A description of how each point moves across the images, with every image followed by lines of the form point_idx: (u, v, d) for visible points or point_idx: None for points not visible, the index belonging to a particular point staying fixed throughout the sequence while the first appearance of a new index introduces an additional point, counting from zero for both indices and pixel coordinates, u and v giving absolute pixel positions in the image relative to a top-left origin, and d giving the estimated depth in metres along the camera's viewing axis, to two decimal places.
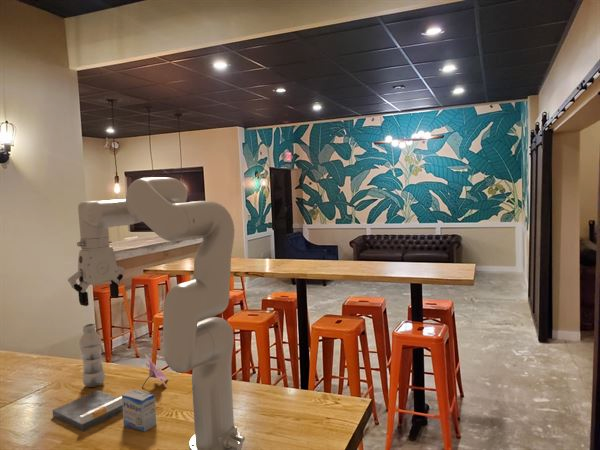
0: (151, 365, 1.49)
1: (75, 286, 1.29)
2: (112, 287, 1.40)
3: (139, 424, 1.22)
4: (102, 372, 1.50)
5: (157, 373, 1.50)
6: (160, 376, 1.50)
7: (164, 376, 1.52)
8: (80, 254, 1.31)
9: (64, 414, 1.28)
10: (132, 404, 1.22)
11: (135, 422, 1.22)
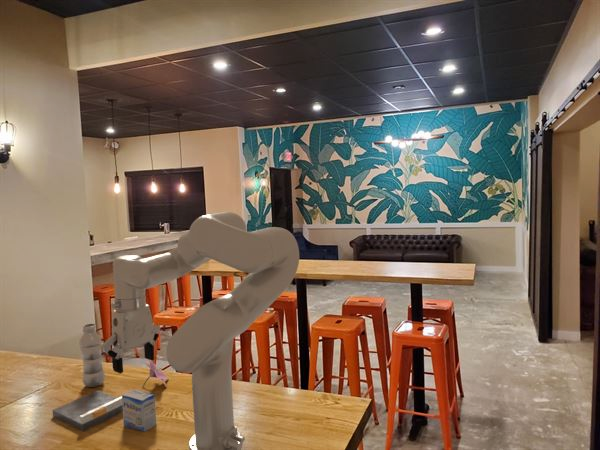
0: (151, 365, 1.50)
1: (109, 353, 1.16)
2: (147, 348, 1.27)
3: (139, 424, 1.22)
4: (102, 372, 1.50)
5: (157, 373, 1.50)
6: (160, 376, 1.50)
7: (164, 376, 1.52)
8: (115, 316, 1.18)
9: (64, 414, 1.28)
10: (132, 404, 1.22)
11: (135, 422, 1.22)
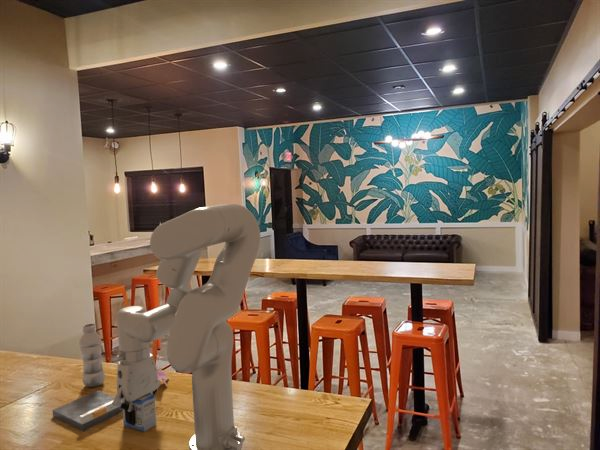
0: None
1: (122, 406, 1.19)
2: None
3: (139, 424, 1.22)
4: (102, 372, 1.50)
5: (158, 373, 1.51)
6: (161, 376, 1.50)
7: (165, 376, 1.52)
8: (119, 368, 1.20)
9: (64, 414, 1.28)
10: None
11: None
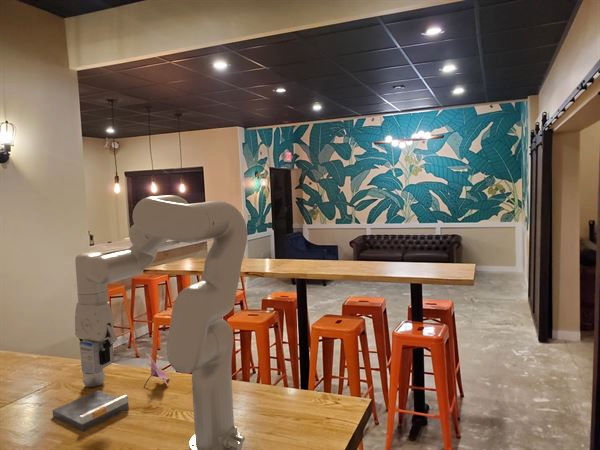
0: (153, 364, 1.50)
1: (80, 339, 1.30)
2: None
3: None
4: (102, 372, 1.50)
5: (159, 372, 1.51)
6: (162, 375, 1.50)
7: (166, 375, 1.52)
8: None
9: (64, 414, 1.28)
10: None
11: None
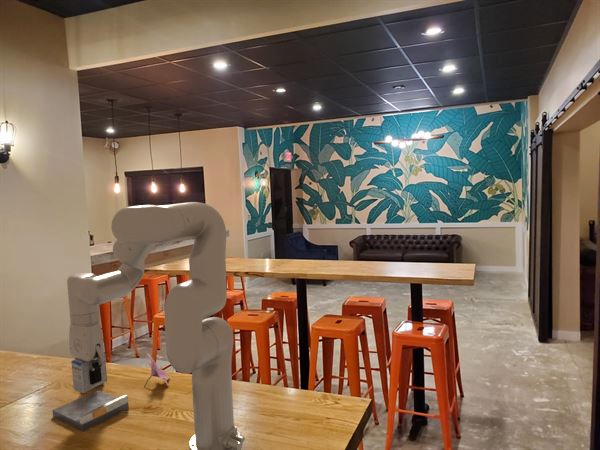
0: (153, 364, 1.50)
1: None
2: None
3: None
4: None
5: (159, 372, 1.51)
6: (162, 375, 1.50)
7: (166, 375, 1.52)
8: None
9: (64, 414, 1.28)
10: None
11: None
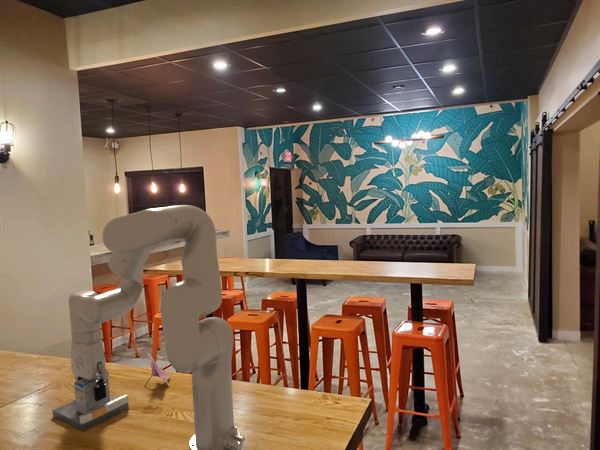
0: (154, 364, 1.50)
1: None
2: None
3: None
4: None
5: (159, 372, 1.51)
6: (163, 375, 1.51)
7: (166, 375, 1.53)
8: None
9: (64, 414, 1.28)
10: None
11: None
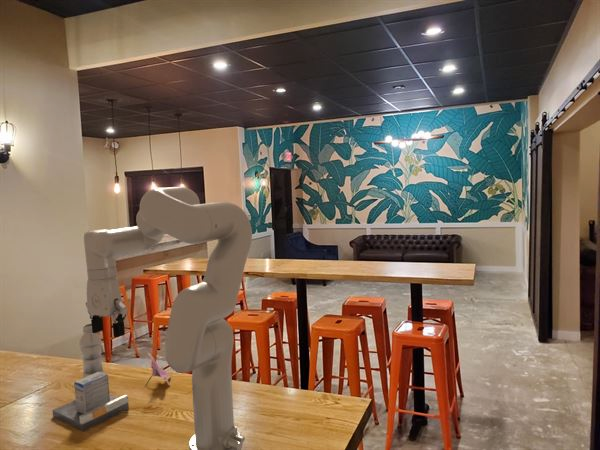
0: (154, 364, 1.50)
1: None
2: None
3: None
4: (102, 372, 1.50)
5: (160, 372, 1.51)
6: (163, 375, 1.51)
7: (167, 375, 1.53)
8: None
9: (64, 414, 1.28)
10: None
11: None
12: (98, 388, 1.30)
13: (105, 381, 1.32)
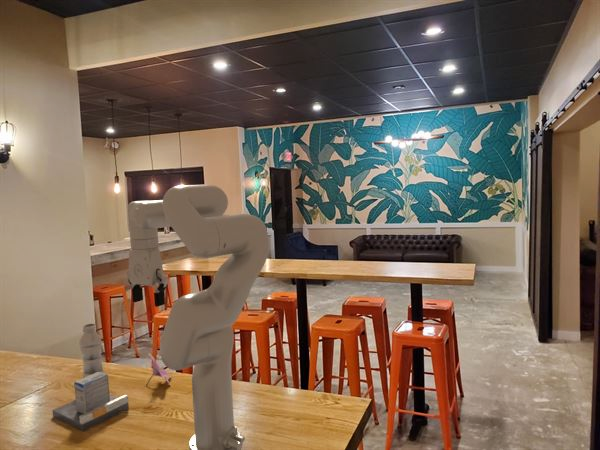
0: (155, 363, 1.51)
1: (128, 280, 1.36)
2: None
3: None
4: (102, 372, 1.50)
5: (161, 371, 1.51)
6: (164, 374, 1.51)
7: (167, 374, 1.53)
8: None
9: (64, 414, 1.28)
10: None
11: None
12: (98, 388, 1.30)
13: (105, 381, 1.32)
